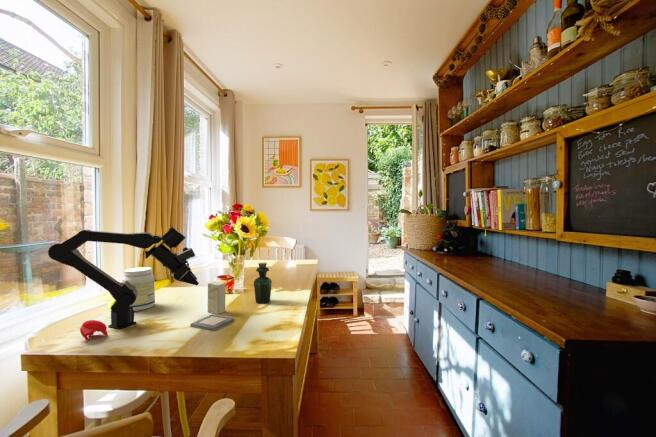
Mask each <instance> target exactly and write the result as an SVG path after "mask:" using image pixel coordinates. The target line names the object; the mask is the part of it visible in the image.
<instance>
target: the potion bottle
mask: <svg viewBox="0 0 656 437" xmlns="http://www.w3.org/2000/svg"><path fill="white" fill-rule="evenodd" d="M267 264H268V263H267V262H258V267H257V268H256V269H255V271H256V272H257V273H258V277H257V278H255V279H254V281H253V288H254V289H253V290H254V297H255V303H257V304H258V305H265V304H268V303H270V302H271V293H272V283H273V281H272V279H271V278H270V277H269V276H267V273H268V272H269V271H270V269H269V267H267Z"/></svg>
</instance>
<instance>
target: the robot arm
mask: <svg viewBox="0 0 656 437" xmlns="http://www.w3.org/2000/svg"><path fill="white" fill-rule="evenodd" d="M184 240H186V236H185V235H184V234H183V233H181V232H180V231H178V230H177V229H176V228H175V227H173V226H170V228H169V229H168V231H166V232H165V233H164V234H163V235H154V234H152V232H147V231H145V232H132V233H130V232H129V233H124V232H112V231H111V232H110V231H103V230H102V231H100V230H91V229H81V230H80V231H79V232H78V233H76V234H75V235H73V236H72V237H69V238H68V239H66V240H64V241H62V242H58V243H55V244H52V245H51V246H50V247H49V248H48V251H47V255H48V257H49V258H50V259H51V260H53V261H56V262H57V263H60V264H62V265H65V266H68V267H71V268H74V269H75V270H77V271H78V272H80V273H81V274H82V275H84V276H85V277H87V278H88V279H89V280H91V281H93V282H94V283H95V284H96V285H98V286H100V287H101V288H103V289H104V290H106V291H107V292H108V293H109V294H110V295H111V296H112V298H113V299H114V302H113V303H112V305H111V306H110V324H108V328H113V329H117V330H121V329H124V328H126V327H129V326H132V325H135V324H137V321H135V311H134V310H133V307H132V306H130V305H132V304H133V303H134V302H135V300H136V298H137V296H138V291H137V290H136V289H135V288H136V286H133V285H131V284H130V283H129V282H128V281H126V282H125V283H122V281H121V282H120V281H118V280H117V279H115V278H114V277H113V276H111V275H109V274H108V273H106V272H105V271H104V270H102V269H101V268H99V267H98V266H97V265H95V264H94V263H92V262H91V261H89V260H88V259H87V258H86V257H84V256H83V254H82V253H81V252H80V250H79V249H78V248H79V247H82V246H83V245H84V244H86V243H87V242H95V243H97V242H98V243H107V244H108V243H109V244H111V243H112V244H119V245H120V244H121V245H123V244H124V245H127V246H131V247H134V248H140V249H145V251H144V253H145V259H148V258H149V257H153V259H155V260H156V261H158V262H159V263H160V264H161V266H162V267H164V268H165V267H166V268H167V269H168V270H169V271H170V273H172V275H173V279H174V280H175V281H176V282H181V283H187V284H190V285H194V286H198V285H199V281H198V277H196V275H195V274H194V273H193V271H192V270H191V267H190V263H189V261H188V259H191V258H194V257H196V253H195V252H194V250H193V248H192V247H189V248H188V246H185V247H183V248H182V251H181V252H179V253H176V252H173V251H172V250H171V249H173V248H174V249H176V248H177V247H178V246H179V245H181V243H183V242H184ZM156 244H158V245H156ZM149 248H150V249H149ZM146 249H148V250H146Z"/></svg>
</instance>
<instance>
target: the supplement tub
mask: <svg viewBox="0 0 656 437" xmlns="http://www.w3.org/2000/svg"><path fill="white" fill-rule="evenodd" d="M152 272H153V269H152V267H149V266H145V267H143V266H141V267H131V268H128V269H124V272H123V275H124V276H123V277H122V279H121V283H125V282H126V281H128V282H129V283H130V284H131V285H133V286H136V288H135V289H136V290H137V291H138V296H137V298H136V300H135V302H134V303H133V304H132V305H130V306H132V307H133V310H134V312H138V311H144V310H147V309H150V308H152V307H154V306H155V305H156V294H155V293H156V291H155V288H156V287H155V275H154V274H153V273H152Z"/></svg>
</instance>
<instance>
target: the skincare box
mask: <svg viewBox="0 0 656 437" xmlns="http://www.w3.org/2000/svg"><path fill="white" fill-rule="evenodd" d="M207 312H208V313H210V314H213V315H220V314H222V313H224V312H226V283H225V282H220V281H212V282H208V283H207Z"/></svg>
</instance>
